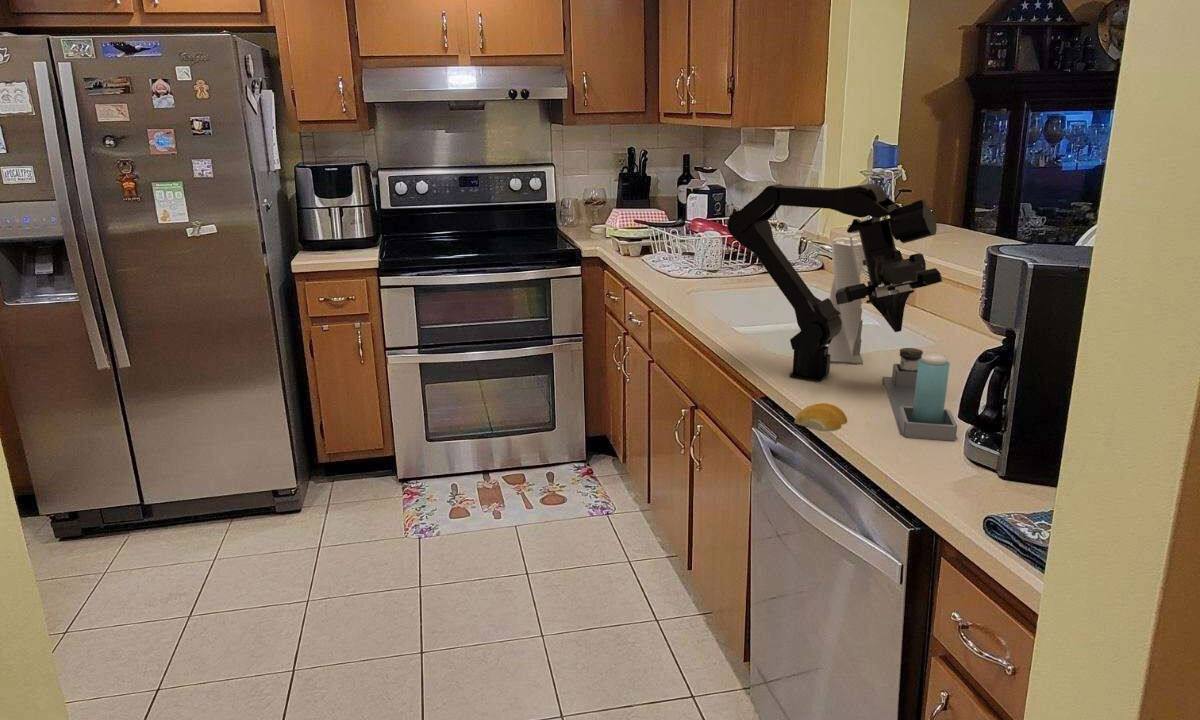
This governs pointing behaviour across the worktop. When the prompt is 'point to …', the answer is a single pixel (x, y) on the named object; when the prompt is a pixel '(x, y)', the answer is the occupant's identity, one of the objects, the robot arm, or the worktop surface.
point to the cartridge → (930, 388)
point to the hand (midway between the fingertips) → (898, 331)
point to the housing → (902, 406)
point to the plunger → (910, 359)
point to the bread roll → (821, 417)
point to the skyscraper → (847, 274)
